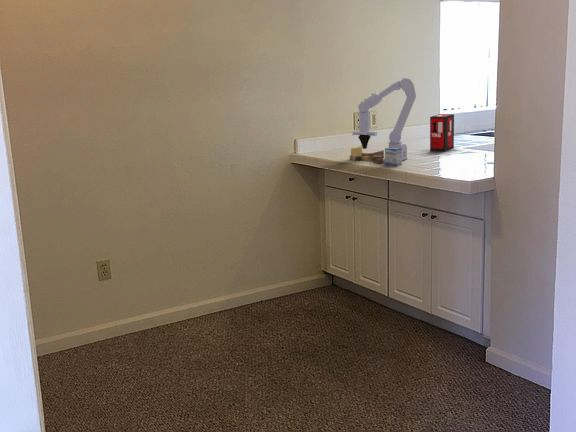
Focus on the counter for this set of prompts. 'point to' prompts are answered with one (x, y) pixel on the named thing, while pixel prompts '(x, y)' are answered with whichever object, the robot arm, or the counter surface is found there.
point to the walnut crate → (378, 159)
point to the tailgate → (356, 151)
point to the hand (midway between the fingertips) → (364, 148)
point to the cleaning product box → (442, 132)
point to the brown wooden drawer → (367, 156)
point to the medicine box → (393, 156)
